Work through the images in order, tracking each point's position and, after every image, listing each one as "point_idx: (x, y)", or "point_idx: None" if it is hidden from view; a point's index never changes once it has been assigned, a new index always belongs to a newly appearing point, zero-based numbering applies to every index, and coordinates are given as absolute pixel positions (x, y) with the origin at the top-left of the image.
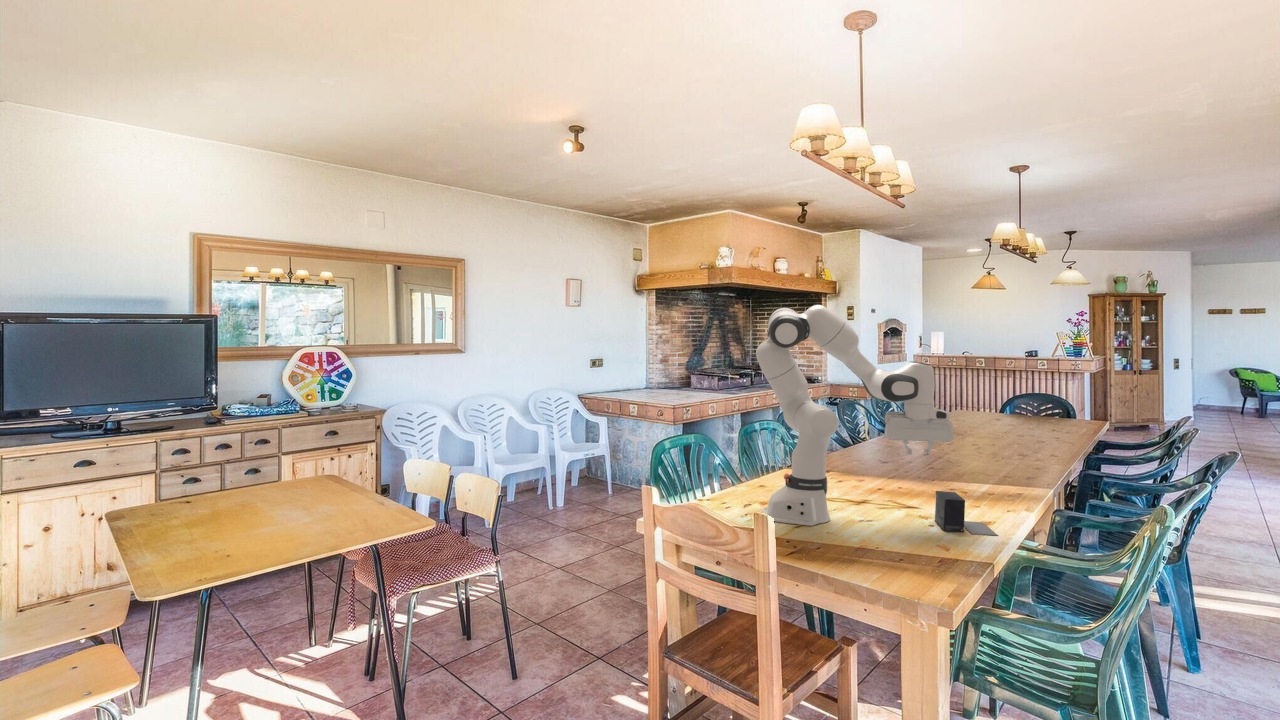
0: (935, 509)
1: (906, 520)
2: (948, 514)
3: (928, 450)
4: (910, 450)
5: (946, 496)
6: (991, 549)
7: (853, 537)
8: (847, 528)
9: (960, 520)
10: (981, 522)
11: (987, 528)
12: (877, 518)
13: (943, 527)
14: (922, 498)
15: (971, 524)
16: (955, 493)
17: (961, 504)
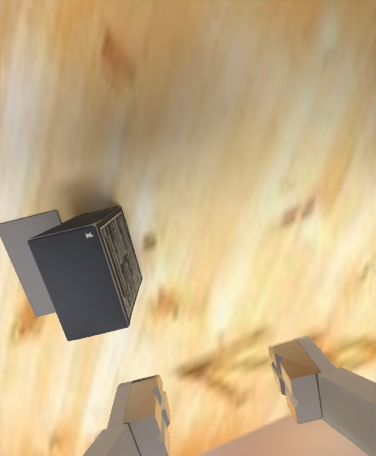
0: (137, 292)
1: (205, 259)
2: (97, 215)
3: (126, 416)
4: (295, 366)
5: (90, 259)
6: (4, 98)
7: (331, 49)
8: (342, 125)
9: (70, 220)
10: (38, 313)
11: (22, 269)
12: (270, 245)
13: (119, 208)
14: (171, 447)
15: None
16: (65, 322)
17: (46, 232)
